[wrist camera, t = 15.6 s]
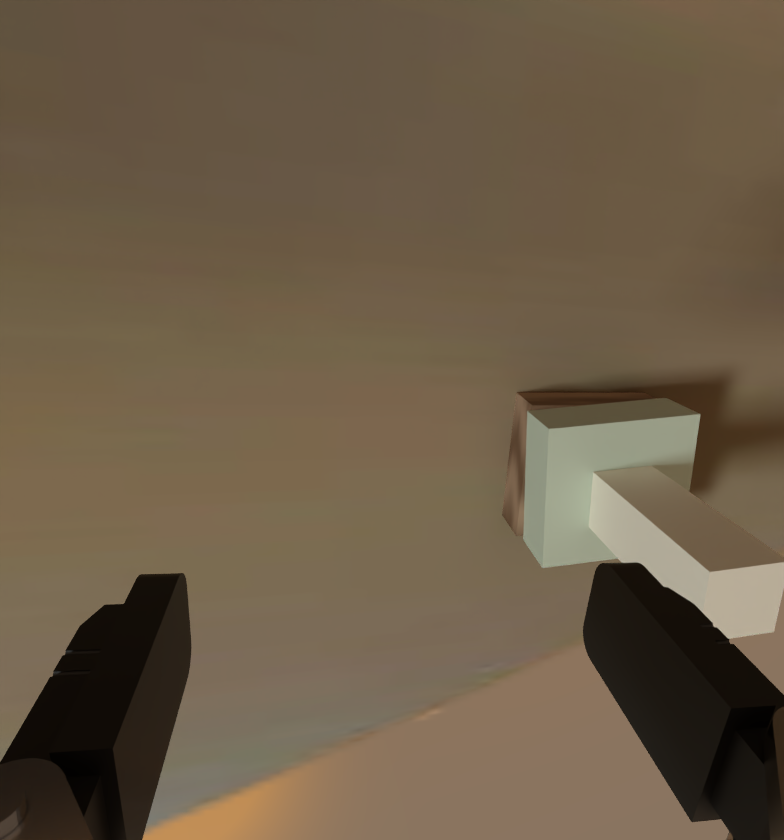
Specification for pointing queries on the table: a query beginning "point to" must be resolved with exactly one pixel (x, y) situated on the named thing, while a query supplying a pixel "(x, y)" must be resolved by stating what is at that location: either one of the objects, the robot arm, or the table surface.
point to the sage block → (595, 467)
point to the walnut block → (517, 454)
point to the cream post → (688, 548)
